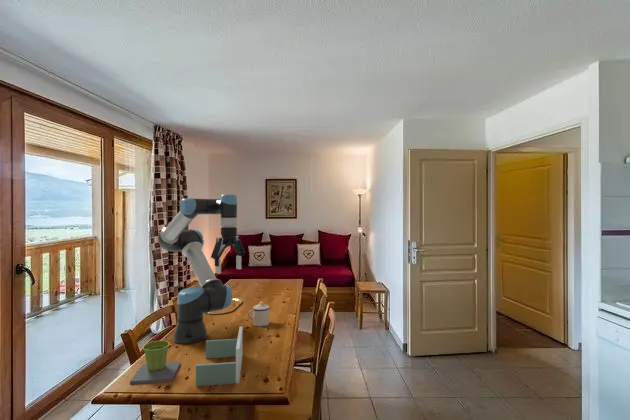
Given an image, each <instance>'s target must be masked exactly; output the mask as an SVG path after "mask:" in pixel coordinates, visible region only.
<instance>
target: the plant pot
mask: <svg viewBox="0 0 630 420" xmlns="http://www.w3.org/2000/svg"><path fill="white" fill-rule="evenodd" d="M170 345H171V343H170V341H168V340H154V341H151V342H147V343H146V344H144V345H142V350H143V351H144V355H145V361H146V364H147V368H148V370H149V371H156V370H161V369H163V368H164V367H165V365H166V363H167V356H168V350H169V346H170Z"/></svg>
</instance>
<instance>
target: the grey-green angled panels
mask: <svg viewBox="0 0 630 420" xmlns="http://www.w3.org/2000/svg"><path fill="white" fill-rule="evenodd" d="M243 328H244V327H243V326H239V329H238V334H237V338H227V339H226V338H224V339H209V340H208V339H207V340H205V359H218V358H235V361H231V362H228V361H227V362H215V363H214V362H213V363H199V364H198V363H197V364H195V387H202V386H203V387H205V386H215V385H217V386H219V385H230V384H240V379H241V371H242V363H243V340H244V339H243Z"/></svg>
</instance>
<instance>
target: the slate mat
mask: <svg viewBox="0 0 630 420" xmlns="http://www.w3.org/2000/svg"><path fill="white" fill-rule="evenodd" d="M180 366H181V361H171V362H166V365H165V367H164V368H163V369H161V370H156V371H149V370H148V368H147V363H142V365H141V366H140V367H139V368H138V370H137V371H136V373H135V374H134V375H133V376H132V378H131V379H130V381H129V384H130V385H136V384H150V383H153V384H154V383H164V382H173V380H174V378H175V376H176V374H177V372H178V371H179V368H180Z"/></svg>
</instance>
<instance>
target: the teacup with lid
mask: <svg viewBox="0 0 630 420" xmlns="http://www.w3.org/2000/svg"><path fill="white" fill-rule="evenodd" d="M270 309H271V308H270V305H268V304H265V303H264V302H263V301H260V302H259V303H258V304H256V305H254V306H253V307H252V309H250V310H248V311H247V318H248V319H249V320H252V323H253V324H252V325H253V326H255V327H266V326H269V324H270ZM250 313H252V317H251V316H250Z"/></svg>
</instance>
